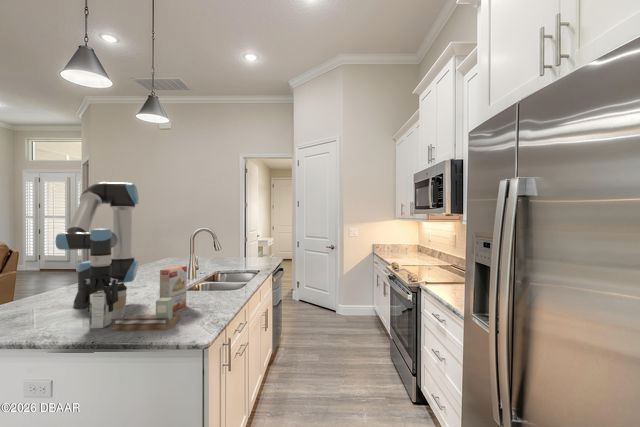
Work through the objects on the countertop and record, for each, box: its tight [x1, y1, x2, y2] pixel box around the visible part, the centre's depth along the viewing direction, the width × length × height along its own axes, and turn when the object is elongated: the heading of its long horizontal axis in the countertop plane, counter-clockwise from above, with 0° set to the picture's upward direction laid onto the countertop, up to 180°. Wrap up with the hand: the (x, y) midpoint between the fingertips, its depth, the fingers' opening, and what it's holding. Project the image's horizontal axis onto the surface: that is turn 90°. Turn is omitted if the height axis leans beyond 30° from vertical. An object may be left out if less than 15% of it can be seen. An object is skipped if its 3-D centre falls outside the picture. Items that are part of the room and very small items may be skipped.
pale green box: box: [155, 297, 174, 321], centre depth 140 cm, size 5×5×9 cm
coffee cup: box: [109, 283, 128, 320], centre depth 151 cm, size 9×9×15 cm
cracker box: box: [158, 265, 188, 312], centre depth 163 cm, size 14×6×21 cm, turn 168°
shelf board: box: [112, 313, 182, 331], centre depth 141 cm, size 22×14×4 cm, turn 93°
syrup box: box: [88, 291, 112, 330], centre depth 138 cm, size 6×6×14 cm
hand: (100, 319), depth 138 cm, fingers closed on syrup box, 6 cm apart
